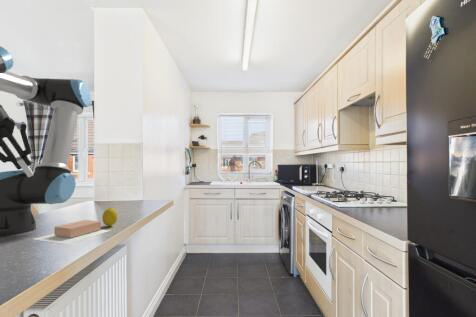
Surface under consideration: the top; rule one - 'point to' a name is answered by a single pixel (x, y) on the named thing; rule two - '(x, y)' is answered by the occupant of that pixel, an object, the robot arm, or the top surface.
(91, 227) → the block
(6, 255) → the top surface
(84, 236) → the mat
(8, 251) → the top surface
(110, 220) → the lemon
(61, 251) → the top surface
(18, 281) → the top surface
